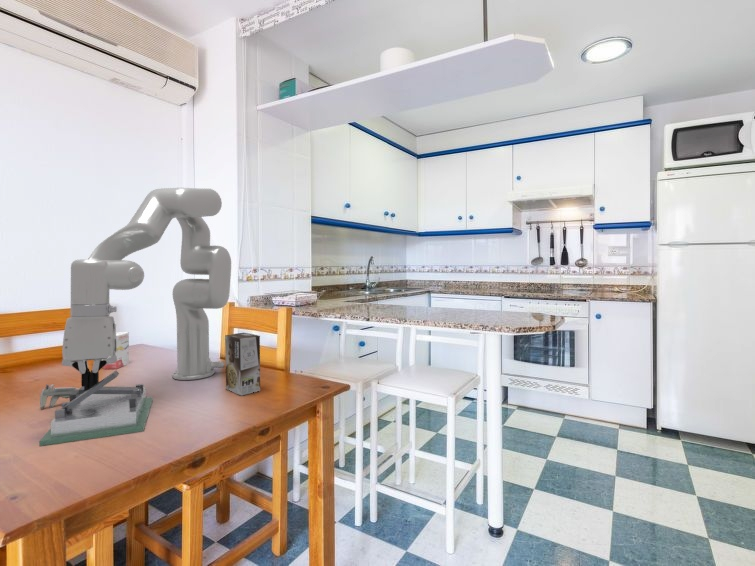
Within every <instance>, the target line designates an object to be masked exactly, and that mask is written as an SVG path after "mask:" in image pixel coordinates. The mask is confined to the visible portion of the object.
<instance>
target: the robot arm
mask: <svg viewBox="0 0 755 566" xmlns="http://www.w3.org/2000/svg"><path fill="white" fill-rule="evenodd" d="M141 202H142V203H141V204H140V205H139V207H138V209H137V210H136V211H135V213H134V214H133V216H132V217H131V219H130V221H128V223H127V225H124V226H123V227H122V228H120V229H118V230H117V231H116V232H114V233H113V234H111V235H110V236H108V237H107V238H105V239H104V240H102V242H100V243H99V244H98V245H97V246H96V247H95V248H94V250H93V251H92V253H91V254H90V255H89V257H88V258H86V259H75V260H73V261H72V263H70V317H67V318H66V320H65V321H66V322H65V327H64V331H63V337H62V338H63V339H62V340H63V341H62V350H61V351H62V352H61V353H62V359H61V360H62V361H61V366H64V367H70V368H71V367H72V368H74V369H75V370H77V371H78V372H79V374H81V375H80V376H81V377H80V378H81V380H80V382H81V387H83V386H84V391H87V390H88V389H90V388H91V387H93V386H94V385H96V384H97V383H98V382H100V381H99V380H100V379H99V376H100V375H99V371H100V370H102V369H103V367H104V366H105V365H107V364H111V363H114V362H116V361H117V356H116V351H117V340H116V332H117V327H116V328H115V324H116V323H115V322H116V321H115V318H114V316H111V313H116V312H117V310H118V309H117V306H113V305H111V303H110V290H113V291H114V290H115V291H123V290H124V291H126V290H127V291H128V290H133V289H136V288H138V287H139V286H141V285H142V283H143V282H144V279H145V271H144V269H143V267H142V266H141V265H140V264H138V263H137V262H135V261H132V260H126V259H125V258H126V257H128V256H129V255H131V254H134V253H136V252H139V251H141V250H144V249H147V248H149V247H151V246H154V245H156V244H158V243H159V241H160V240H161V239H162V237H163V234H164V233H165V231H166V229H167V228H168V226H169V224H171V221H172V220H173V219H176V220H177V222H178V224H179V227H180V229H181V246H180V247H181V248H180V259H179V261H180V268H181V270H182V272H184V273H185V274H188V275H194V276H195V275H199V276H200V275H201V276H203V275H204V276H205V275H206V276H208V278H186V279H181V280H179V281H178V282H176V284H175V285H174V286H173V289H172V300H173V305H174V309H175V316H176V352H177V353H176V355H177V356H176V357H177V361H176V362H177V364H176V365H177V370H176V371H173V372H172V374H171V376H172V379H174V380H178V381H194V380H201V379H205V378H208V377H211V376H213V375H215V369H216V368H217V369H222V368H223V369H224V368H225V361H219V360H217V361H212V360H211V358H210V323H209V322H210V321H209V318H208V315H207V313H206V311H205V309H206V310H207V309H208V310H209V309H211V310H212V309H213V310H214V309H215V310H217V309H222V308H224V307H225V306H227V304H228V302H229V299H230V291H231V278H232V277H231V276H232V258H231V255H230V253H229V251H228V249H227V248H225V246H222V245H221V246H220V245H211V230H210V228H209V225H208V223H207V222H206V221H205V220H204V219H203V218H204V217H214V216H216V215H217V214H219V213H220V211H221V210H222V209H221V208H222V203H223V202H222V198H221V196H220V195H219V193H218V192H217V191H216V190H215V189H213V188H193V187H168V188H167V187H164V188H162V187H161V188H155V189H153V190H151V191H149V192H148V194H147V195H146V197H144V199H143V201H141ZM103 359H104V360H103ZM88 361H93V363H92V369H91V370H90V369H89V365H88Z"/></svg>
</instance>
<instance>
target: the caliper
mask: <svg viewBox="0 0 755 566" xmlns="http://www.w3.org/2000/svg"><path fill="white" fill-rule="evenodd" d="M120 387H125V386H123V385H121V386H120ZM79 389H80V388H77V387H75V386H73V387H71V386H70V387H69V386H68V387H55V384H53V383H52V384H51V385H49V384H46V385H45V388H42V390H41V393H40V396H39V405H40V406H39V408H40V409H42V410H45V407H46V404H47V401H48V397H50V402H49V406H48V407H49V408H50V409H53V408H54V406H55V405H56V403H57V401H58V400H59V398H62V399H70V394H71V393H72V392H73V391H75V390H79ZM80 395H81V394H80Z"/></svg>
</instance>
